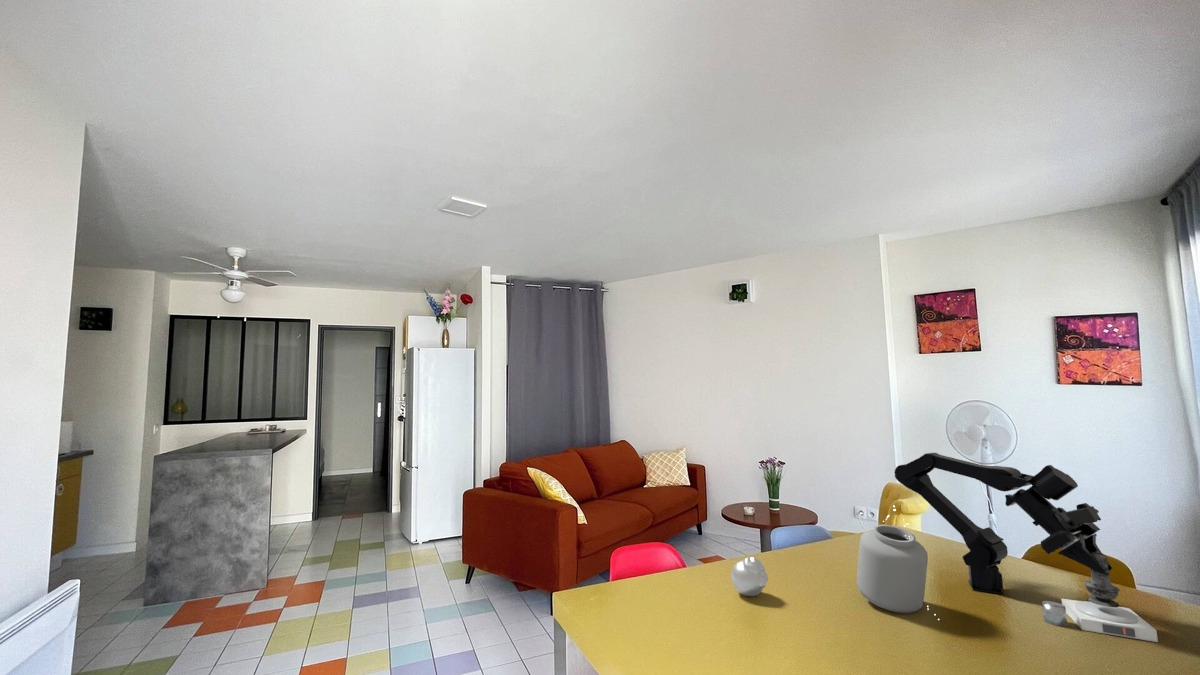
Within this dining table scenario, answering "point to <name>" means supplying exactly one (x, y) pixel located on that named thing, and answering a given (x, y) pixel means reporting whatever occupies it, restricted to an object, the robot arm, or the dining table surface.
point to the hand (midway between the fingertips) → (1107, 571)
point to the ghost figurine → (749, 576)
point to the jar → (892, 569)
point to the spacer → (1054, 613)
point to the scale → (1109, 620)
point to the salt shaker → (1101, 584)
